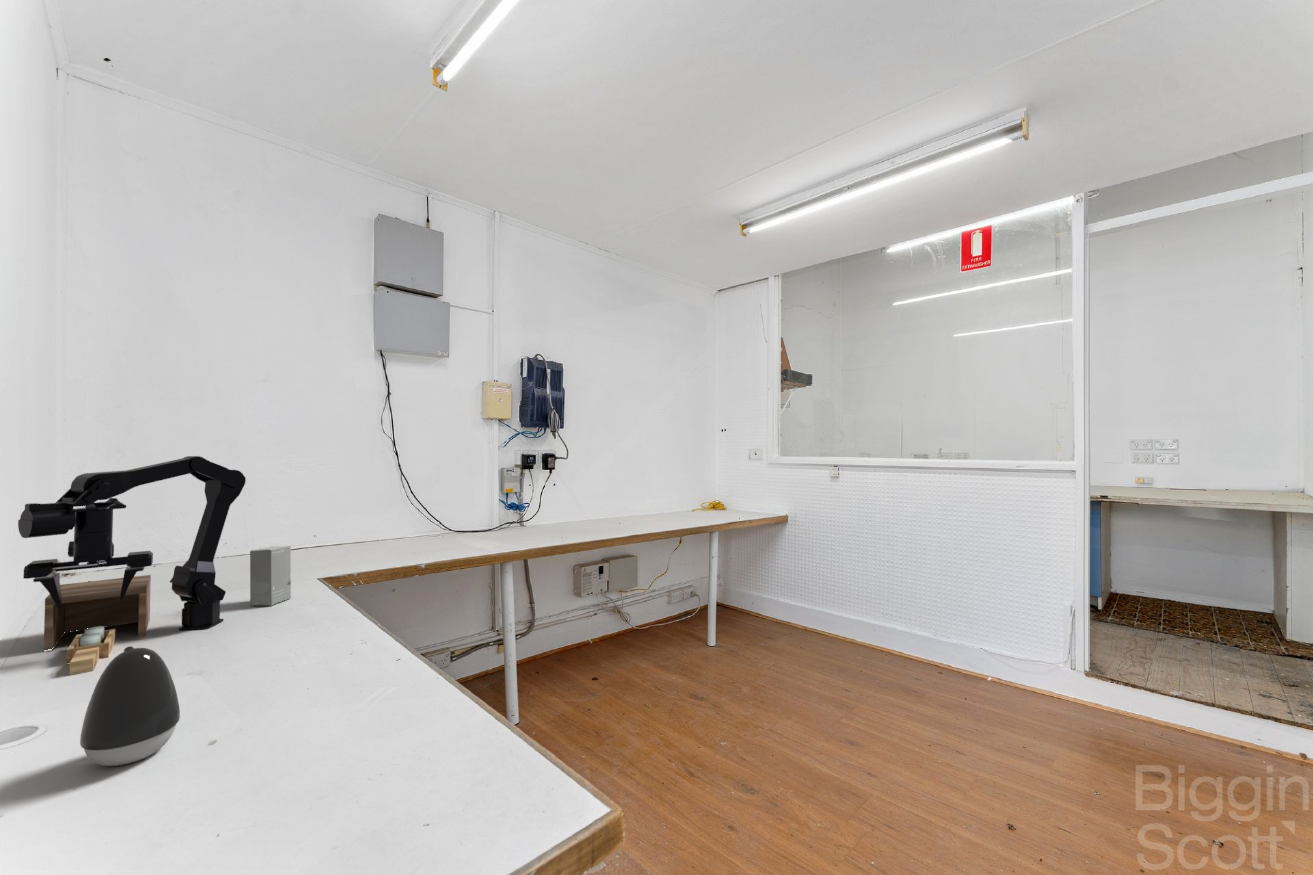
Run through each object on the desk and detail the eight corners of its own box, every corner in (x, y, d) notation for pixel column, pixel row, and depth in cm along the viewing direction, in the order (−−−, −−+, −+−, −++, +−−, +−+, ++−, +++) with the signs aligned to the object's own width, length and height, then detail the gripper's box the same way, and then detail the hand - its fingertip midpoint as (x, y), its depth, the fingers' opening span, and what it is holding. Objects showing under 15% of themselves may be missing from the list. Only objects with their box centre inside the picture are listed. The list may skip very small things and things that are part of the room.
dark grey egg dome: (171, 729, 84) (173, 631, 84) (185, 752, 77) (188, 647, 78) (76, 758, 76) (79, 650, 76) (82, 787, 69) (85, 669, 70)
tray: (103, 669, 107) (103, 646, 107) (58, 677, 103) (59, 653, 103) (115, 641, 122) (115, 622, 122) (76, 648, 118) (77, 627, 118)
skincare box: (271, 606, 150) (272, 550, 150) (246, 606, 150) (247, 550, 150) (292, 598, 158) (293, 544, 159) (269, 598, 159) (270, 544, 159)
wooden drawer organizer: (145, 635, 126) (146, 586, 127) (43, 652, 116) (45, 598, 116) (149, 619, 139) (150, 574, 139) (57, 633, 128) (59, 584, 128)
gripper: (155, 523, 127) (153, 589, 127) (36, 531, 115) (34, 604, 115) (152, 528, 119) (150, 599, 118) (24, 537, 107) (21, 616, 106)
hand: (91, 604), depth 115 cm, fingers open, 9 cm apart
